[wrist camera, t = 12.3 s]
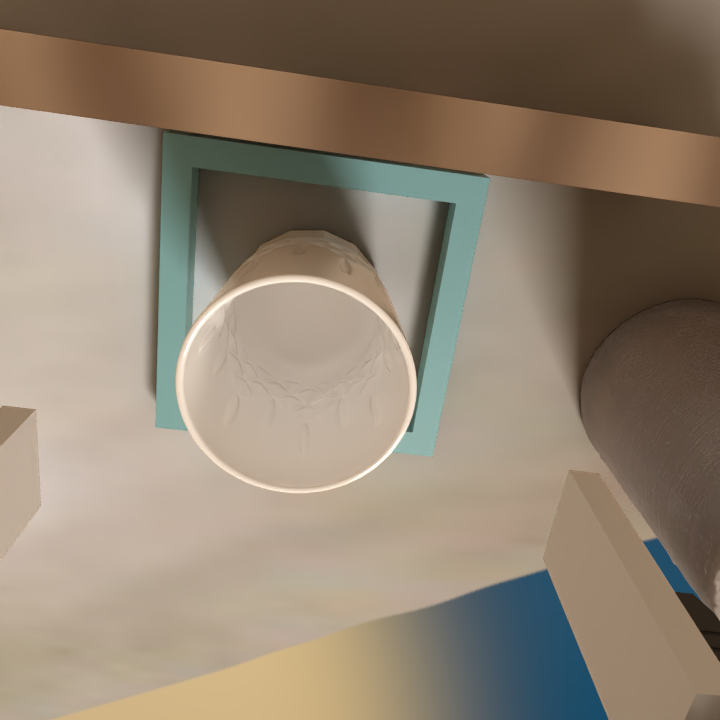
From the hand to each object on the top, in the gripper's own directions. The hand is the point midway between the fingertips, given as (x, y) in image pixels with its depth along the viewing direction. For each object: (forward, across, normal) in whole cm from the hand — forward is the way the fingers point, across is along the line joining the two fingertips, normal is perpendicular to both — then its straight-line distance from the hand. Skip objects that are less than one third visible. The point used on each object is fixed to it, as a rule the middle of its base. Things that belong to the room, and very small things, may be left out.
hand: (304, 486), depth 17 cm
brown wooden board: (+16, 0, +8) cm, 18 cm away
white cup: (+16, -1, 0) cm, 16 cm away
